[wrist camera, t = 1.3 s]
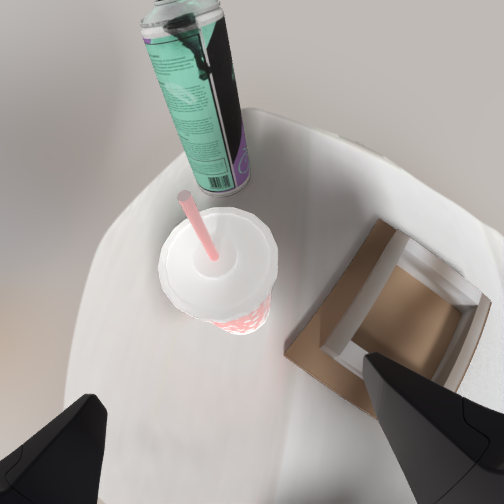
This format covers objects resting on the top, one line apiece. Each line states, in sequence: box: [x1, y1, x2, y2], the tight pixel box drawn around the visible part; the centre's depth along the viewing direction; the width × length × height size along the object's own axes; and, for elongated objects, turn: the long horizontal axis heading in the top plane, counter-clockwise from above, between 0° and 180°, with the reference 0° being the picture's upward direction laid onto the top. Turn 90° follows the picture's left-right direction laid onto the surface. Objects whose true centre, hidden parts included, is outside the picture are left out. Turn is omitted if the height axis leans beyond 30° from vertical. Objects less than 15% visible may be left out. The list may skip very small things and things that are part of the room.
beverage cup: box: [158, 190, 278, 335], centre depth 15 cm, size 6×6×14 cm
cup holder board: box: [284, 219, 492, 420], centre depth 18 cm, size 14×14×4 cm
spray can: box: [140, 0, 250, 197], centre depth 19 cm, size 6×6×20 cm
